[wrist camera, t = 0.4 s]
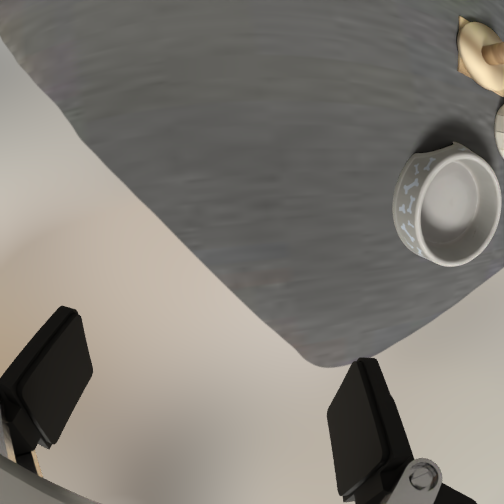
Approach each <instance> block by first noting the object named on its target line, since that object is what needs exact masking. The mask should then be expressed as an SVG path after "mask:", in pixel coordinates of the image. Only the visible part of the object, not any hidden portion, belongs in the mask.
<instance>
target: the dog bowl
mask: <svg viewBox="0 0 504 504" xmlns="http://www.w3.org/2000/svg"><path fill="white" fill-rule="evenodd" d="M500 213H501V190H500V186H499V182H498V179H497V177H496V175H495V173H494V171H493V169H492V168H491V166H490V165H489V164H488V163H487V162H486V161H485V160H484V159H483V158H481V157H480V156H478V155H477V154H475V153H474V152H472V151H471V150H469V149H468V148H466V147H465V146H463V145H461V144H459V143H457V142H453V145H451V146H448V147H446V148H443V149H439V150H436V151H433V152H427V153H415V154H413V155H412V156H411V157H410V159H409V160H408V161H407V163H406V164H405V166H404V168H403V169H402V171H401V174H400V176H399V178H398V181H397V184H396V187H395V191H394V197H393V218H394V224H395V227H396V230H397V233H398V235H399V237H400V239H401V240H402V242H403V243H404V244H405V245H406V247H407V248H409V249H410V250H411V251H412V252H414V253H415V254H417V255H419V256H421V257H424V258H426V259H428V260H430V261H432V262H434V263H436V264H439V265H442V266H449V267H452V266H459V265H462V264H465V263H467V262H469V261H471V260H472V259H474V258H475V257H476V256H478V255H479V254H480V253H481V252H482V251H483V250H484V249H485V247H486V246H487V245H488V243H489V242H490V240H491V239H492V237H493V235H494V233H495V231H496V228H497V225H498V222H499V218H500ZM474 233H475V234H474ZM473 236H474V237H473Z"/></svg>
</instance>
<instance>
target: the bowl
mask: <svg viewBox="0 0 504 504" xmlns="http://www.w3.org/2000/svg"><path fill="white" fill-rule="evenodd" d="M494 135H495V141H496V145H497V148H498V151H499V153H500V155H501V156H502V158H503V159H504V105H502V106H501V107H500V109H499V110H498V112H497V114H496V118H495V123H494Z"/></svg>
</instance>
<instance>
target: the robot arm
mask: <svg viewBox="0 0 504 504" xmlns="http://www.w3.org/2000/svg"><path fill="white" fill-rule="evenodd" d="M92 373H93V367H92V363H91V359H90V355H89V351H88V347H87V342H86V338H85V333H84V328H83V323H82V319H81V316H80V315H78V312H77V311H76V310H75V309H72V308H68V307H65V306H60V307H59V308H58V309H57V310H56V312H55V313H54V314H53V315H52V316H51V317H50V318H49V319H48V320H47V322H46V323H45V324H44V325H43V326H42V327H41V328H40V330H39V331H38V332H37V333H36V334H35V335H34V337H33V338H32V339H31V340H30V341H29V343H28V344H27V345H26V346H25V348H24V349H23V350H22V351H21V352H20V354H19V355H18V356H17V357H16V359H15V360H14V361H13V362H12V364H11V365H10V366H9V368H8V369H7V370H6V371H5V373H4V374H3V375H2V377H1V378H0V504H101V503H98V502H95V501H93V500H90V499H88V498H85V497H83V496H80V495H78V494H76V493H74V492H71V491H69V490H67V489H65V488H63V487H60V486H58V485H56V484H54V483H52V482H50V481H48V480H46V479H44V478H43V476H42V472H41V469H40V466H39V463H38V460H37V456H36V452H35V448H36V446H37V444H39V445H41V446H43V447H45V448H47V449H50V447H51V445H52V444H55V443H56V442H57V441H58V439H59V437H60V435H61V433H62V431H63V429H64V427H65V425H66V423H67V421H68V419H69V417H70V415H71V413H72V411H73V410H74V408H75V406H76V404H77V402H78V400H79V398H80V397H81V395H82V393H83V391H84V389H85V387H86V385H87V384H88V382H89V380H90V378H91V376H92ZM327 420H328V426H329V432H330V438H331V445H332V452H333V459H334V466H335V473H336V480H337V488H338V493H339V495H340V496H343V502H351V501H355V503H356V504H477V503H476V501H474V500H473V499H471V498H469V497H467V496H466V495H463V494H462V493H460V492H458V491H456V490H454V489H452V488H451V487H449V486H447V485H445V484H443V483H442V473H441V470H440V468H439V467H438V466H437V464H436V463H434V462H433V461H431V460H429V459H426V458H419V459H415V460H414V457H413V454H412V451H411V448H410V445H409V442H408V439H407V436H406V433H405V430H404V427H403V424H402V421H401V418H400V416H399V413H398V410H397V407H396V404H395V402H394V399H393V398H392V396H391V395H390V392H389V390H388V387H387V384H386V382H385V379H384V376H383V374H382V371H381V369H380V366H379V363H378V361H377V359H375V358H359V359H358V360H357V361H354V362H353V363H352V364H351V366H350V368H349V370H348V373H347V374H346V376H345V378H344V380H343V382H342V384H341V386H340V388H339V390H338V392H337V393H336V395H335V397H334V399H333V401H332V403H331V405H330V406H329V408H328V411H327Z"/></svg>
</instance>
